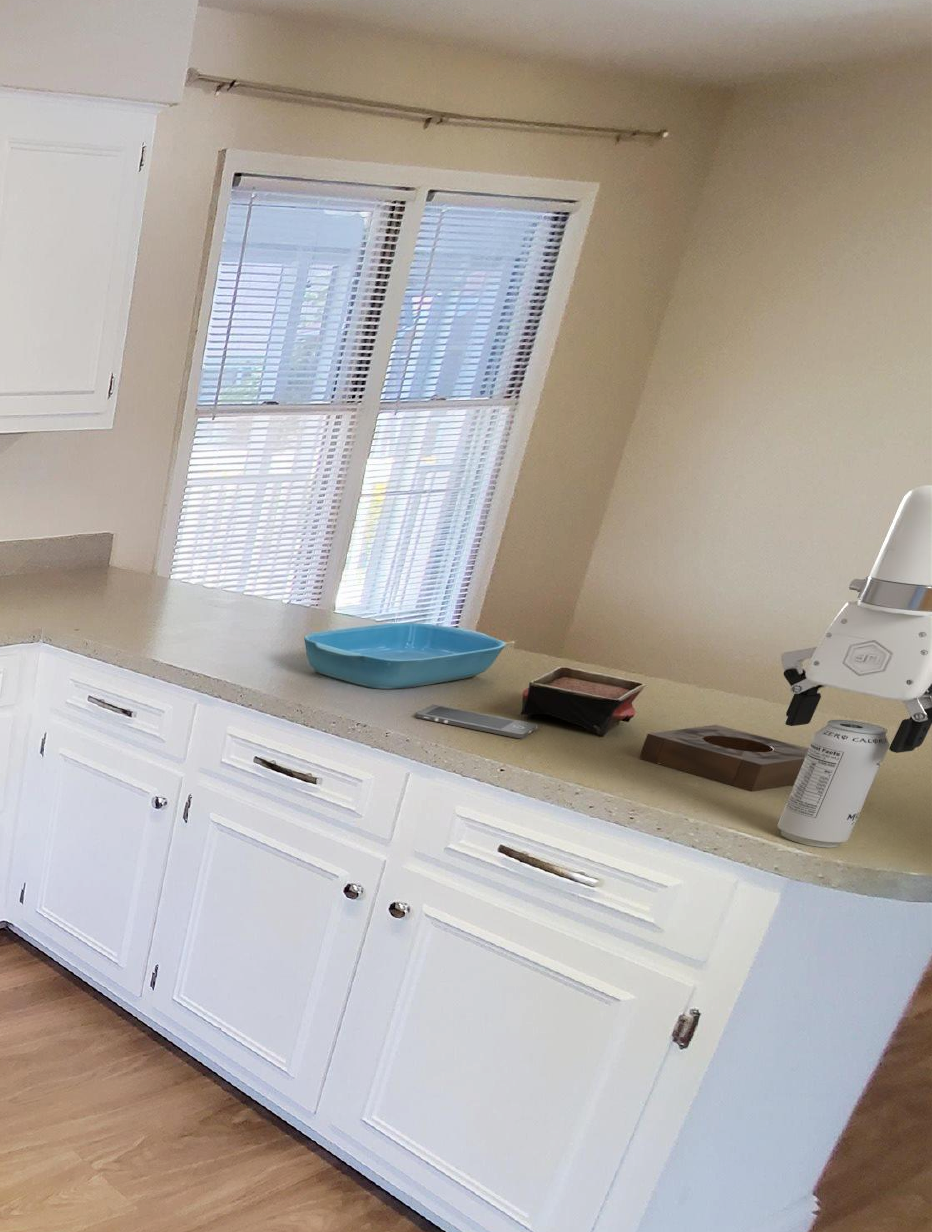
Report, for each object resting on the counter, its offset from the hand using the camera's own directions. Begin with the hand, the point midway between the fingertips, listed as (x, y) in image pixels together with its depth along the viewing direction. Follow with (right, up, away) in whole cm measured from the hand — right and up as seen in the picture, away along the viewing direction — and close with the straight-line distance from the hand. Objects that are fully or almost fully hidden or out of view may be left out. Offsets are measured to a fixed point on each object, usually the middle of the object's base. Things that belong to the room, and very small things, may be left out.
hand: (847, 737), depth 123 cm
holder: (+14, -4, +27) cm, 31 cm away
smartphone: (-6, +4, +48) cm, 49 cm away
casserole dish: (+1, +15, +77) cm, 79 cm away
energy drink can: (0, -13, +5) cm, 14 cm away
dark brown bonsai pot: (+10, +4, +48) cm, 49 cm away
